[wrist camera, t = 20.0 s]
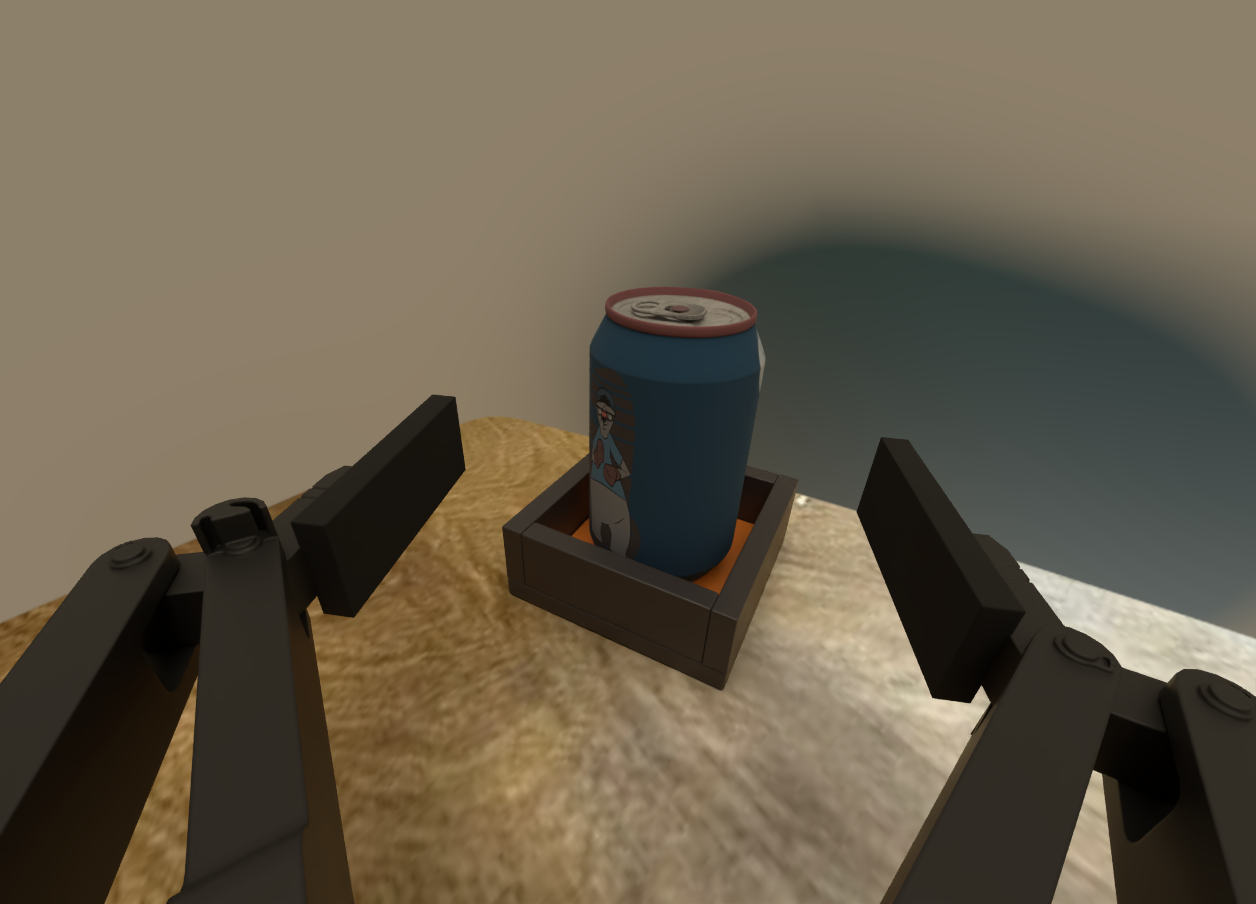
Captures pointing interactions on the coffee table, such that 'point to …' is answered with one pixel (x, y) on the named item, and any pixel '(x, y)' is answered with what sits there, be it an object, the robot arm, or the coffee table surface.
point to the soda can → (671, 425)
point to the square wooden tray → (648, 576)
